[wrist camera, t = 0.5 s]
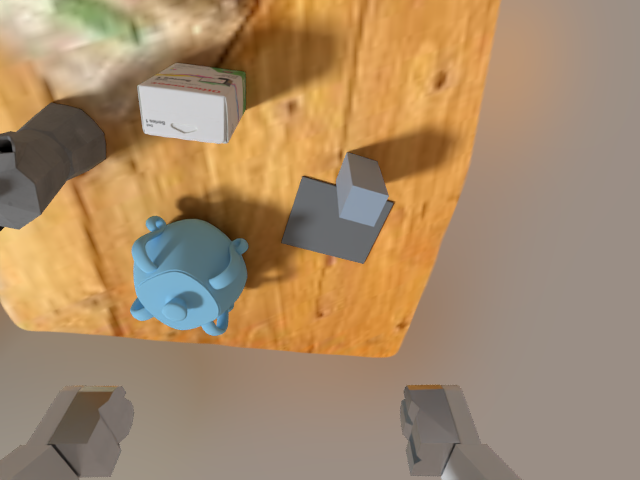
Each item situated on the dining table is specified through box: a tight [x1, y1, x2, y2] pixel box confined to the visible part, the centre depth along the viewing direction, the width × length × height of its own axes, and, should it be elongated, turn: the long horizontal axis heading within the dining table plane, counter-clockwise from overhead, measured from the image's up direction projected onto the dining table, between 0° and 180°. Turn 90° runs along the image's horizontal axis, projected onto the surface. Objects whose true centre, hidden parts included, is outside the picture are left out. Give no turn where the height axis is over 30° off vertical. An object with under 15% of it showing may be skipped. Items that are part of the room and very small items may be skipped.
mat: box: [281, 176, 393, 264], centre depth 57 cm, size 12×14×1 cm
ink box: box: [137, 63, 246, 144], centre depth 41 cm, size 8×5×12 cm, turn 83°
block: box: [336, 152, 389, 227], centre depth 48 cm, size 4×4×10 cm
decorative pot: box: [130, 216, 248, 336], centre depth 55 cm, size 16×16×14 cm
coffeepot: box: [0, 103, 106, 231], centre depth 42 cm, size 15×9×18 cm, turn 143°
